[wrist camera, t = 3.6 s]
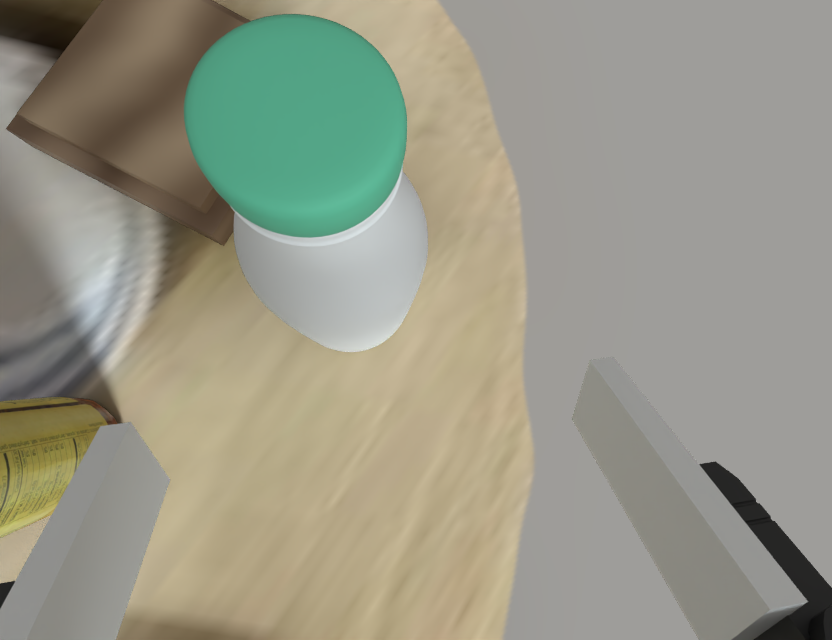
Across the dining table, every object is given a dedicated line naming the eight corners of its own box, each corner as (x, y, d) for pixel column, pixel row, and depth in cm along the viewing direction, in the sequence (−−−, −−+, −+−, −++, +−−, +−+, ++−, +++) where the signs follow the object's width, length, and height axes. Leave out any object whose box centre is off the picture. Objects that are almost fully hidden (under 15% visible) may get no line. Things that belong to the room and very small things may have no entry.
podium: (32, 146, 27) (-10, 118, 24) (150, -13, 30) (126, -56, 27) (223, 246, 28) (205, 230, 25) (326, 80, 30) (321, 48, 27)
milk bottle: (417, 343, 28) (513, 266, 8) (300, 361, 27) (102, 320, 8) (400, 234, 29) (451, -69, 9) (286, 247, 28) (77, -56, 8)
